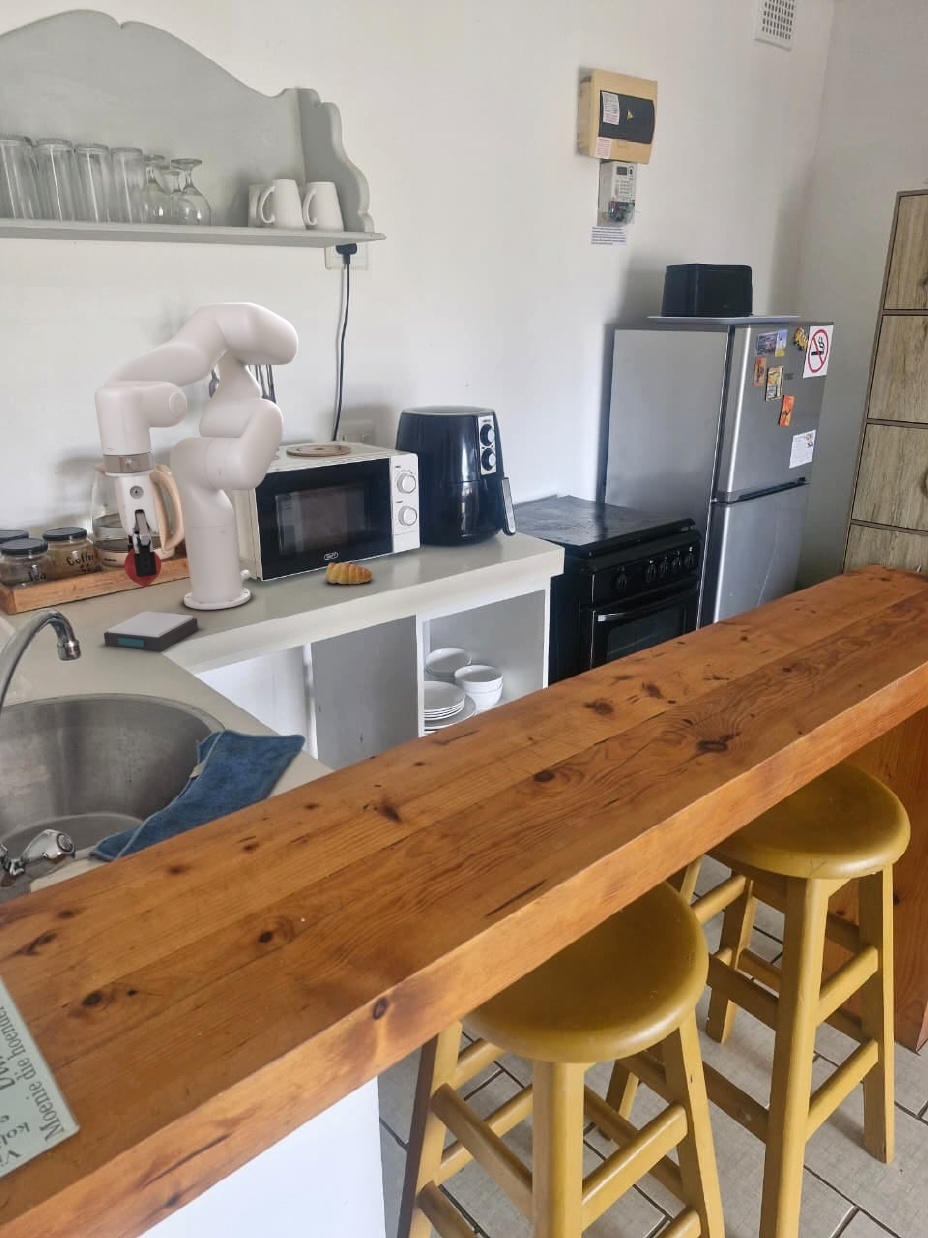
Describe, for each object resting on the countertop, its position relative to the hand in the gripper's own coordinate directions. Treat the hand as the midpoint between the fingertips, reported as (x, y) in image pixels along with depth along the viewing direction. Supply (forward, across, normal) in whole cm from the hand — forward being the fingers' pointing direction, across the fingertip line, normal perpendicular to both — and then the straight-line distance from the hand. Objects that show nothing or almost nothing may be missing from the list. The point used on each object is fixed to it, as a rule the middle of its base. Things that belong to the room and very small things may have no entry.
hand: (143, 569), depth 147 cm
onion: (+3, 0, 0) cm, 3 cm away
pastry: (+12, +16, -42) cm, 46 cm away
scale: (+12, 0, 0) cm, 12 cm away
